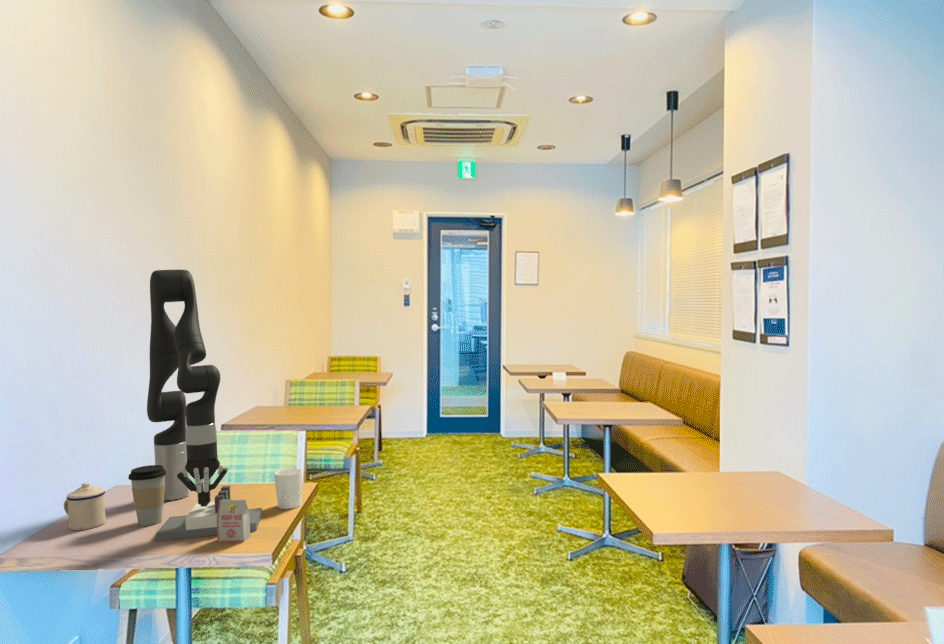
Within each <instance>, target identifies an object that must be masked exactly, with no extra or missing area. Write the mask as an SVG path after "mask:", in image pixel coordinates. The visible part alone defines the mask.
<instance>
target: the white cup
mask: <svg viewBox="0 0 944 644" xmlns="http://www.w3.org/2000/svg"><path fill="white" fill-rule="evenodd" d="M273 478H274V485H275V486H274V487H275V494H276V495H275V496H276V500H277V508H278V509H281V510H290V509H291V510H292V509H295V508H296V509H297V508H299V507H300V506H301V505H302V503H303V502H302V496H303V469H301V468H284V469H279V470H276V471H275V472H274V477H273Z"/></svg>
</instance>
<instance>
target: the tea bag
mask: <svg viewBox="0 0 944 644" xmlns="http://www.w3.org/2000/svg"><path fill="white" fill-rule="evenodd" d="M248 509H249V508H248V503H247V500H246V499H231V500H219V507H218V513H217V543H245V542H246V541H247V540H248V539H249V538H250V537H251V531H250V515H249V511H248Z"/></svg>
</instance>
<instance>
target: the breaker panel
mask: <svg viewBox="0 0 944 644" xmlns="http://www.w3.org/2000/svg"><path fill="white" fill-rule="evenodd" d="M221 490H228V500H232V498H231V497H232V496H231V485H224V486H221V487H220V491H221ZM219 500H225V496H224V495H218V494H216V495H215V497H214V501H210V503H209V504H208V505H207V506H203V507H201V505H199V504H198V502H197V503H195V505H194V506H193V508H192V509H191V510H190V512H189V513H188V514H187V515H186V514H185V515H176V516H169V517H168V518H167V519H166V521H164V523H163V524H162V525H161V527H159V529H158V530H157V531H156V533H155V539H156V542H160V541H159V540H163V541H170V539H172V540H180V539H179V538H182V539H191V538H200V537H209V536H216V535H217V513H218V507H219ZM248 511H249V515H250V532H256V531H257V529H258V527H259V524H260V522H261V519H262V517H263V507H258V508H257V507H256V508H248Z"/></svg>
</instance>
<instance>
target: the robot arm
mask: <svg viewBox="0 0 944 644" xmlns="http://www.w3.org/2000/svg"><path fill="white" fill-rule="evenodd" d="M195 286H196V285H195V280H194V278H193V275H192V273H191V272H190V271H189V270H187V269H157V270H153V271H152V272H151V274H150V278H149V295H150V296H149V297H150V298H149V300H150V335H149V338H150V339H149V382H148V392H147V401H146V413H147V414H146V415H147V418H148V420H149V421H150V422H151V423H164V422H173V423H172V424H171V425H170V426H169V427H168V428H166V429H164V430H162V431H160V432H157V433H156V434H155V435H154V437H153V447H154V448H153V449H154V465H161V466H163V468H164V469H165V470H166V473H167V474H166V475H165V481H164V483H165V490H164V500H165V501H164V502H166V500H170V501H176V500H175V499H177V500H179V499H180V498H181V499H184V498H186V497H188V496H189V495H190V492H196V493H197V503H198V504H199V505H201V507H203V506H207V505H208V504H209V503H210V502H211V491H212V490H216V488H217V487H218V486H219V484H220V483H221V481H222V480H223V478H224V477H226V474H227V473H228V471H229V468H228V467H224V466H223V465H221V461H220V460H219V457H218V439H217V438H218V437H217V427H216V418H215V417H216V415H215V414H216V413H215V406H216V399H217V396H218V395H217V394H218V391H219V387H220V384H221V372H220V370H219V368H217V366H215V365H214V364H203V365H196V364H199V363H201V362H203V361H204V360H205V359H206V357H207V351H206V347H205V343H204V340H203V336H202V332H201V328H200V320H199V309H198V302H197V293H196V287H195ZM176 302H177V303H179V302H184V309H183V312H182V314H181V316H180V318H179V320H178V321H177V323H176V325H175V323H174V322H173V321H172V320H171V318H170V317H169V315H168V314H167V312H166V309H165V303H176ZM176 371H177V375H176V386H177V388H178V390H172V391H163V389H164V387H165V384H166V383H167V381H168V380H169V379H170V378H171V377H172V376H173V375H174V373H176ZM196 393H197V394H198V393H203V395H202V396H201V398H199V399H197V400H194V401H191V402H189V403H187V400H186V395H185V394H196ZM216 472H217V475H218V476H217V477H216V479H215V480H214V482H213V483H211V481H212V478H213V476H214V475H215V473H216ZM189 476H191V477H192V478H193V480H194V482H193V480H192V479H191V478H190V477H189Z"/></svg>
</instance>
